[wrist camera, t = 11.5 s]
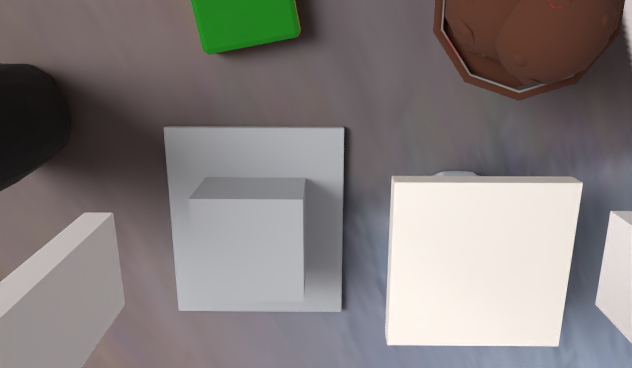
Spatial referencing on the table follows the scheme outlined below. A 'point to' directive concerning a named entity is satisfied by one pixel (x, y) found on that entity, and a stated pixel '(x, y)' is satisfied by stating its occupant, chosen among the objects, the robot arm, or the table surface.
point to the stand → (256, 217)
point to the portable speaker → (29, 121)
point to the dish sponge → (244, 23)
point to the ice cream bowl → (525, 41)
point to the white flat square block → (479, 259)
